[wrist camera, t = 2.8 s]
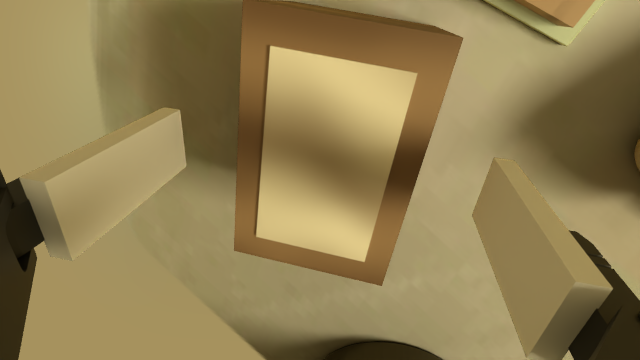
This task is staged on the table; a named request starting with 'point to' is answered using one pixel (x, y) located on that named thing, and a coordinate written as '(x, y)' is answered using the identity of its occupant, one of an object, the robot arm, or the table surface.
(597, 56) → the table surface
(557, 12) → the panel
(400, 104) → the wooden box
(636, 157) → the ceramic mug
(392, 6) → the table surface
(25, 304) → the robot arm
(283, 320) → the table surface
